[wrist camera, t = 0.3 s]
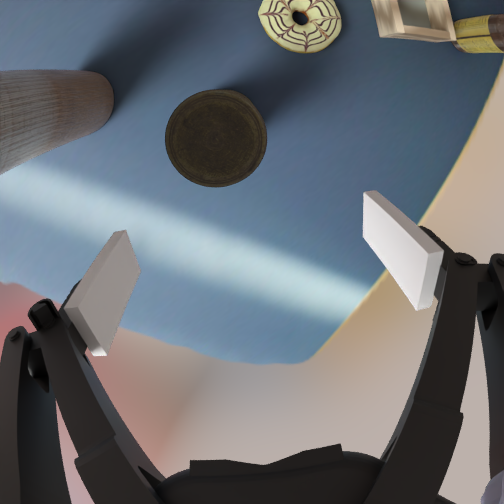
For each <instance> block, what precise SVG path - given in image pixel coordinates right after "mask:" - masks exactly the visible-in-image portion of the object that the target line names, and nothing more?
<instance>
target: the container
mask: <svg viewBox="0 0 504 504" xmlns="http://www.w3.org/2000/svg"><path fill="white" fill-rule="evenodd" d="M165 145H166V150H167V154H168V156H169V159H170V160H171V162H172V164H173V165H174V167H175V168H176V170H177V171H178V172H179V173H180V174H181V175H183V176H184V177H185V178H186V179H188V180H190V181H192V182H194V183H196V184H199V185H202V186H206V187H225V186H229V185H232V184H235V183H238V182H240V181H242V180H243V179H245V178H247V177H248V176H249V175H250V174H252V173H253V172H254V171H255V169H256V168H257V167H258V166H259V164H260V163H261V161H262V159H263V157H264V154H265V151H266V146H267V131H266V126H265V123H264V120H263V118H262V116H261V114H260V113H259V111H258V110H257V108H256V107H255V106H254V105H253V104H252V102H251V101H250V100H249V99H248V98H247V97H246V96H245V95H243V94H241V93H239V92H237V91H233V90H206V91H202V92H199V93H196V94H194V95H192V96H190V97H188V98H187V99H185V100H184V101H183V102H182V103H181V104H180V105H179V106H178V107H177V108H176V109H175V110H174V112H173V113H172V115H171V117H170V119H169V121H168V124H167V127H166V132H165Z"/></svg>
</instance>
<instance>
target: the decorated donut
mask: <svg viewBox="0 0 504 504" xmlns="http://www.w3.org/2000/svg"><path fill="white" fill-rule="evenodd" d="M296 11H297V12H302V13H303V14H304V15H306V16H307V18H308V22H307V23H306V24H305V25H303V26H301V25H298V24H297V23H295V22H294V20H293V19H292V14H293V12H296ZM258 15H259V18H260V20H261V23H262V25H263V27H264V29H265V31H266V33H267V34H268V35H269V37H270V38H271V39H272V40H274V41H275V42H276V43H277V44H279V45H280V46H281V47H283V48H285V49H287V50H290V51H293V52H298V53H314V52H318V51H320V50H322V49H324V48H326V47H327V46H328V45H329V44H330V43H332V42H333V41H334V39H335V38H336V37H337V36H338V34H339V32H340V30H341V16H340V13H339V11H338V9H337V7H336V5H335V2H334V1H333V0H263V1H262V4H261V6H260V9H259V11H258Z"/></svg>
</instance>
